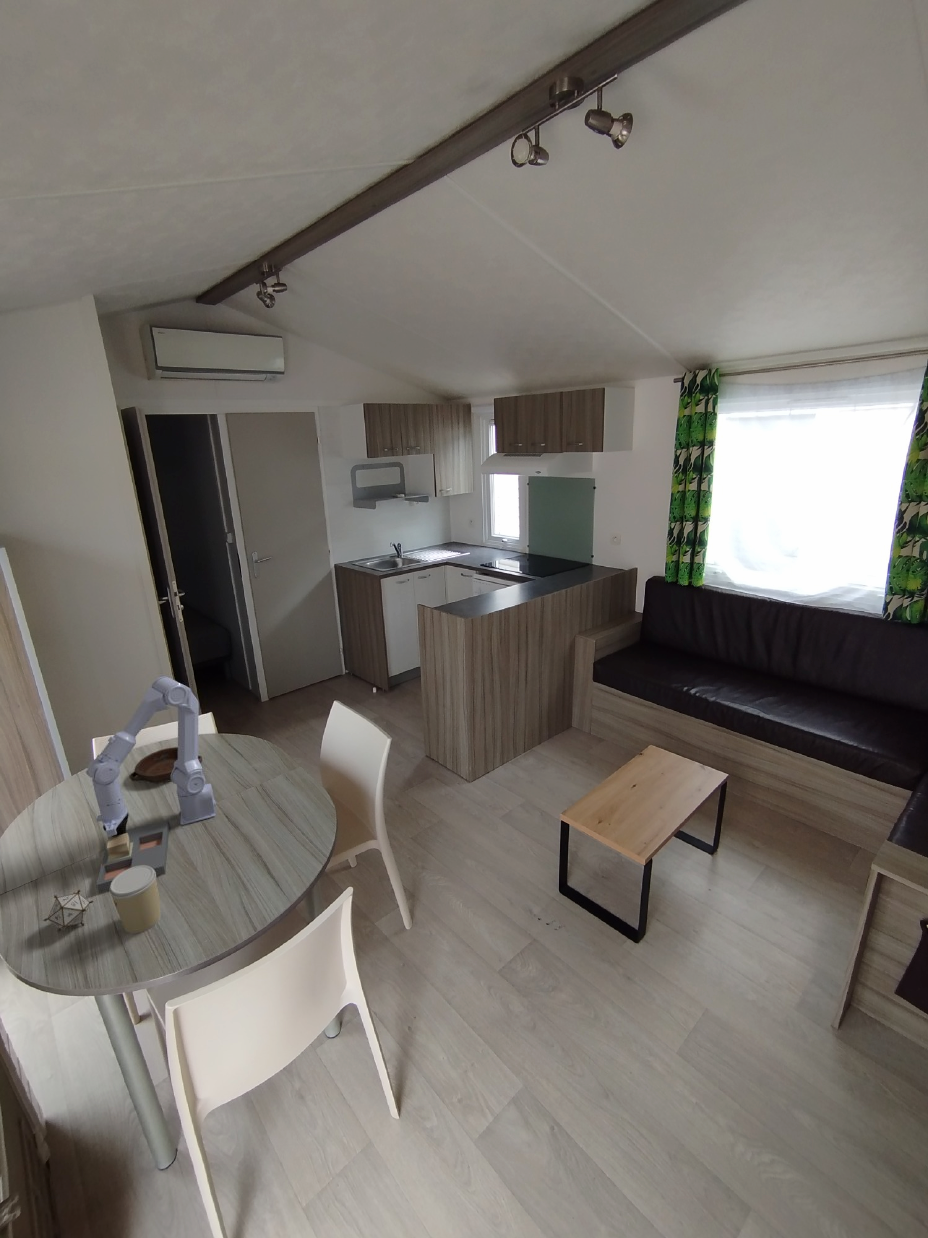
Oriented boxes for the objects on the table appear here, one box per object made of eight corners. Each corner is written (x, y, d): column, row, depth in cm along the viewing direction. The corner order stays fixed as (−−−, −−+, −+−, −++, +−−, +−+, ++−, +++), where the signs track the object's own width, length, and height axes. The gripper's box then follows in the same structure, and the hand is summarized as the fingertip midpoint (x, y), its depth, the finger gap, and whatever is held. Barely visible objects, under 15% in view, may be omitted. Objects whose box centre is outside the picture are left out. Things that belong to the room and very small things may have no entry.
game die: (78, 941, 132) (61, 935, 124) (47, 926, 132) (28, 919, 124) (106, 902, 137) (91, 894, 129) (75, 888, 138) (59, 879, 130)
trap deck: (169, 826, 165) (167, 819, 164) (165, 873, 147) (163, 865, 146) (110, 841, 159) (108, 834, 159) (98, 893, 141) (96, 885, 140)
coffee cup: (131, 906, 137) (121, 866, 133) (171, 902, 137) (161, 862, 134) (112, 938, 128) (100, 896, 124) (154, 934, 128) (144, 892, 125)
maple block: (130, 845, 154) (127, 832, 153) (129, 855, 150) (126, 842, 149) (111, 850, 152) (108, 838, 151) (110, 861, 148) (106, 848, 147)
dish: (130, 771, 194) (127, 758, 193) (199, 751, 205) (197, 739, 204) (132, 796, 180) (129, 783, 179) (206, 774, 191) (203, 761, 189)
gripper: (97, 789, 155) (108, 830, 159) (88, 820, 142) (100, 863, 146) (126, 782, 157) (136, 823, 162) (120, 812, 145) (131, 855, 149)
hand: (121, 842), depth 154 cm, fingers closed
